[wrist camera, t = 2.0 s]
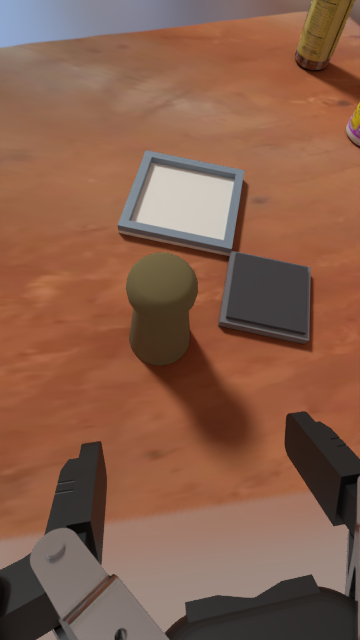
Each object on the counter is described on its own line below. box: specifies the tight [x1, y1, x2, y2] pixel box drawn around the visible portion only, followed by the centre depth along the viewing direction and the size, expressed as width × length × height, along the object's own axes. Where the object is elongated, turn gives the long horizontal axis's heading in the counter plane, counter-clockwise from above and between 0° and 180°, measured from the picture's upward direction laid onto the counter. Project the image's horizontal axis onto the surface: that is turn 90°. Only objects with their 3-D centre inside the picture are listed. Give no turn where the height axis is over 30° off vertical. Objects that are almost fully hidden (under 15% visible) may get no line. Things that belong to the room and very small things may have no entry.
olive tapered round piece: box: [126, 252, 198, 366], centre depth 27 cm, size 6×6×11 cm
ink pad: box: [218, 251, 311, 344], centre depth 34 cm, size 9×9×2 cm
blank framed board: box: [118, 150, 244, 256], centre depth 39 cm, size 13×13×1 cm
